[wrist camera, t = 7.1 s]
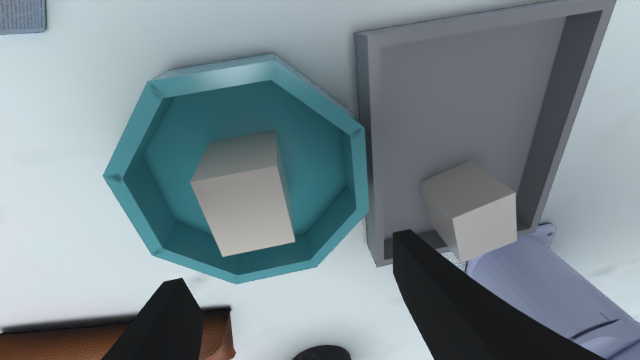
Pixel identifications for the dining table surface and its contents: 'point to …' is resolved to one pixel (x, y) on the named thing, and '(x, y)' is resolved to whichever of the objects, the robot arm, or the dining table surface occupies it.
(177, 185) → the bowl
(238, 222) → the white rectangular block
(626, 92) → the dining table surface
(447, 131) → the parts tray
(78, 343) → the sunglasses case
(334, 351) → the travel mug
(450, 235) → the light gray cube block
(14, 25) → the medicine box
